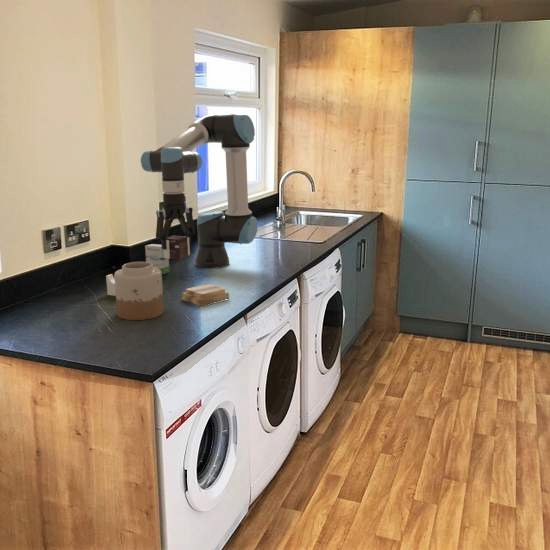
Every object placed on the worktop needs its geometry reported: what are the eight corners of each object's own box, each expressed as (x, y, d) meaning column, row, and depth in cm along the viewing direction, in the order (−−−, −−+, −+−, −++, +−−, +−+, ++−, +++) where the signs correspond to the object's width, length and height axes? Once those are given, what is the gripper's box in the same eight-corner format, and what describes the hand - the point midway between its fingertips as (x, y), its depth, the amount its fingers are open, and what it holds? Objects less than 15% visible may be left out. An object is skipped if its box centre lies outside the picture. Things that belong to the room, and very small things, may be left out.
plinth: (182, 299, 219) (181, 288, 218) (208, 292, 227) (208, 282, 226) (202, 306, 211) (201, 295, 210) (229, 299, 219) (228, 288, 218)
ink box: (170, 272, 258) (168, 244, 255) (163, 274, 254) (161, 247, 251) (153, 270, 262) (151, 243, 259) (146, 272, 257) (144, 245, 254)
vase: (124, 306, 212) (120, 259, 208) (167, 306, 211) (165, 259, 207) (111, 320, 197) (107, 270, 193) (158, 320, 197) (155, 270, 192)
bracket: (123, 297, 223) (122, 277, 221) (107, 295, 226) (106, 275, 224) (143, 288, 235) (142, 269, 233) (128, 286, 238) (127, 267, 236)
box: (165, 258, 217) (163, 238, 215) (174, 254, 222) (173, 235, 220) (179, 259, 215) (178, 239, 213) (188, 256, 220) (187, 236, 218)
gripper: (153, 196, 203) (157, 262, 209) (204, 190, 216) (206, 253, 222) (142, 194, 209) (146, 259, 214) (192, 189, 222) (194, 250, 228)
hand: (177, 256), depth 218 cm, fingers closed on box, 8 cm apart
